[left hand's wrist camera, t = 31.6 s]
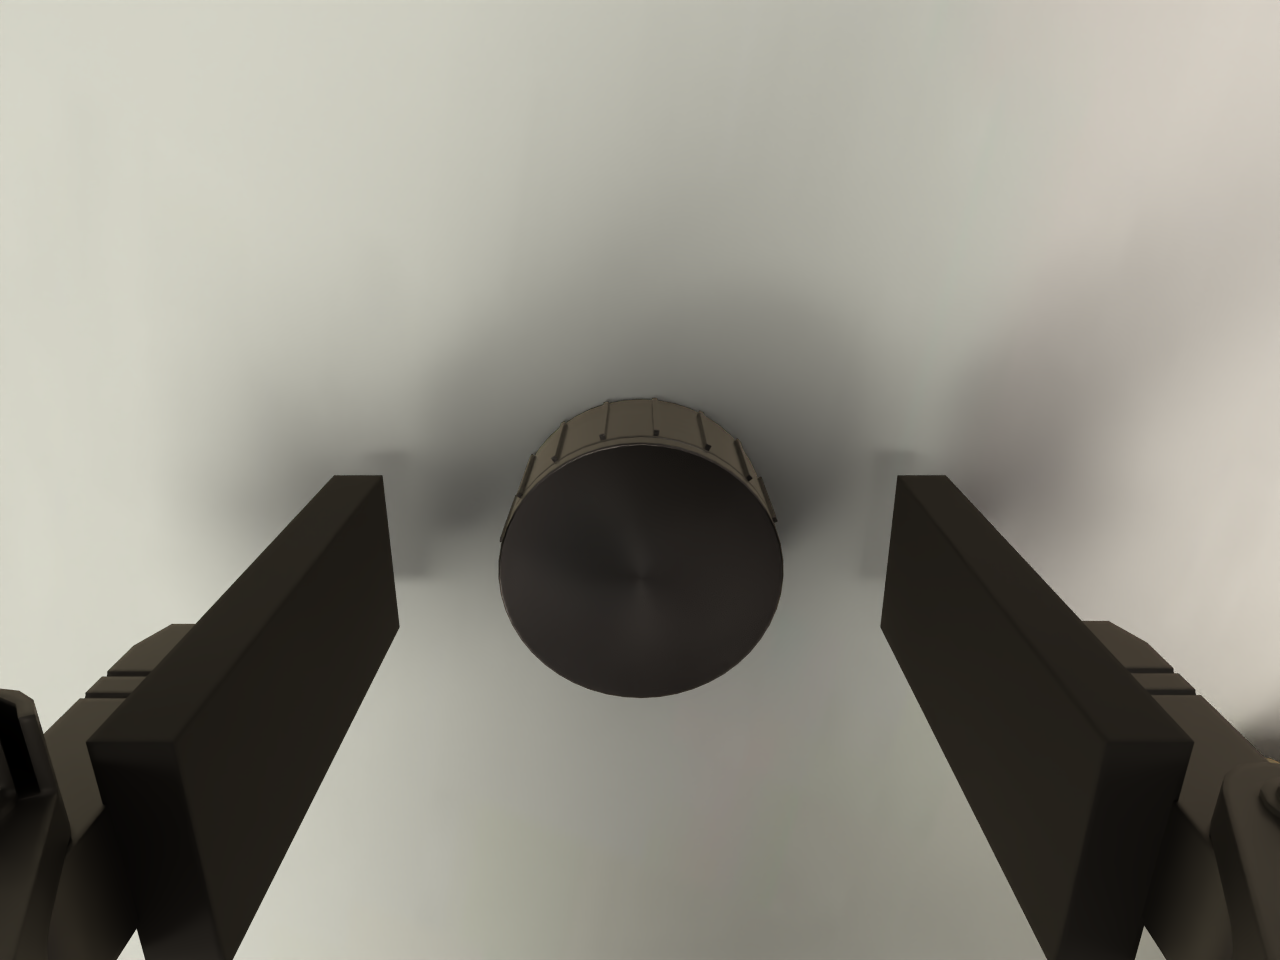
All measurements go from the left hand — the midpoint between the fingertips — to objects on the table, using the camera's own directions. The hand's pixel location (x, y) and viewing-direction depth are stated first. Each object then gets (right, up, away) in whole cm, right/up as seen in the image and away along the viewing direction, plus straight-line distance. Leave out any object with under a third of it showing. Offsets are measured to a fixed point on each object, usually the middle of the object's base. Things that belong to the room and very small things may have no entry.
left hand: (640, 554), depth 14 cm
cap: (0, 0, -1) cm, 1 cm away
